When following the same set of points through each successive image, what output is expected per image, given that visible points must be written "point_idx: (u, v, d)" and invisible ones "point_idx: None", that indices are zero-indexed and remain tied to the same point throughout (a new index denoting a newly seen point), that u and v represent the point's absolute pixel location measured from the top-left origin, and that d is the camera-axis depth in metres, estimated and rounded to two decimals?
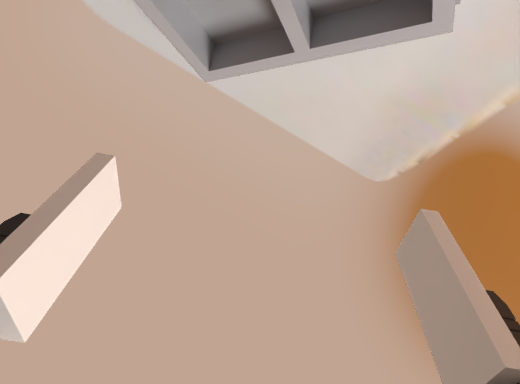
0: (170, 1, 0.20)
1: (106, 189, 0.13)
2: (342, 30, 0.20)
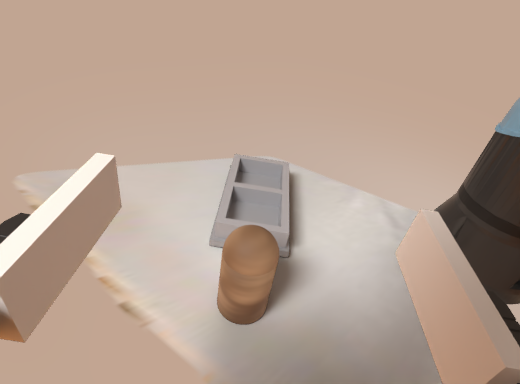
0: (269, 170, 0.51)
1: (106, 189, 0.13)
2: (230, 199, 0.43)
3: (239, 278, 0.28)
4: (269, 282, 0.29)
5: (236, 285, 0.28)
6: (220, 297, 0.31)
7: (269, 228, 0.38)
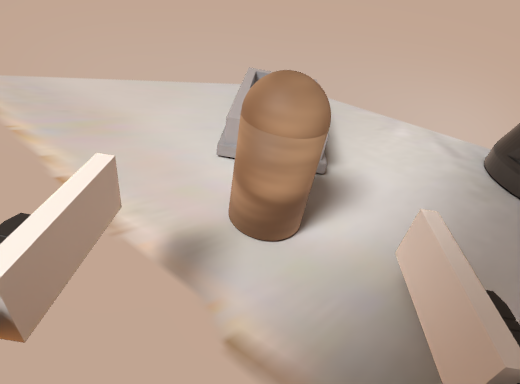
0: None
1: (106, 189, 0.13)
2: None
3: (269, 145, 0.17)
4: (314, 163, 0.18)
5: (262, 161, 0.18)
6: (234, 197, 0.20)
7: None
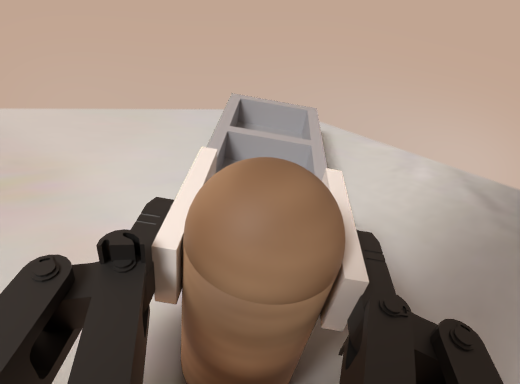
0: (285, 119, 0.33)
1: None
2: (222, 152, 0.24)
3: (230, 310, 0.09)
4: (315, 318, 0.10)
5: (220, 329, 0.10)
6: (184, 349, 0.12)
7: None
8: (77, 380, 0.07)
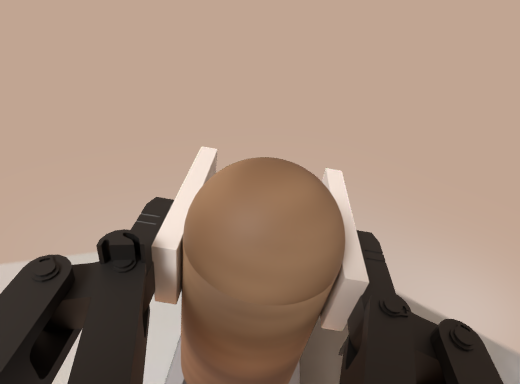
0: None
1: None
2: None
3: (229, 311, 0.09)
4: (315, 319, 0.10)
5: (220, 329, 0.10)
6: (184, 349, 0.12)
7: None
8: (77, 380, 0.07)
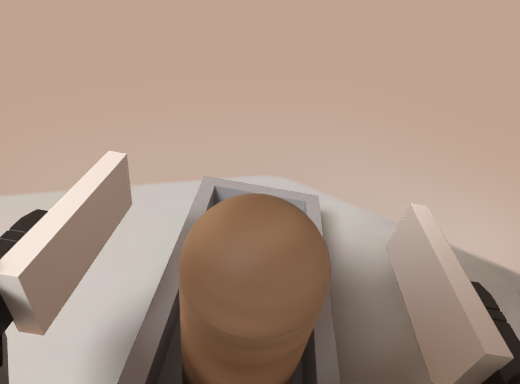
0: None
1: (118, 186, 0.13)
2: (175, 309, 0.16)
3: (222, 342, 0.10)
4: (304, 344, 0.11)
5: (214, 357, 0.10)
6: (184, 369, 0.13)
7: None
8: None
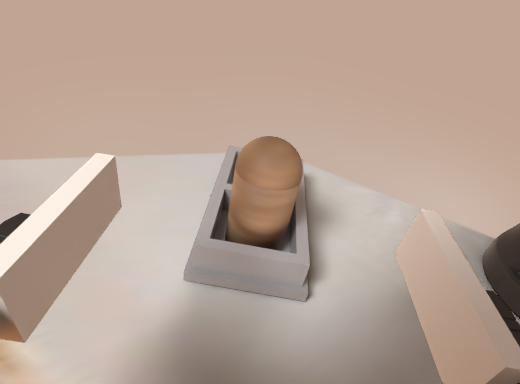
0: None
1: (106, 189, 0.13)
2: (220, 209, 0.29)
3: (256, 194, 0.23)
4: (290, 205, 0.24)
5: (251, 205, 0.23)
6: (230, 228, 0.26)
7: (278, 256, 0.24)
8: None
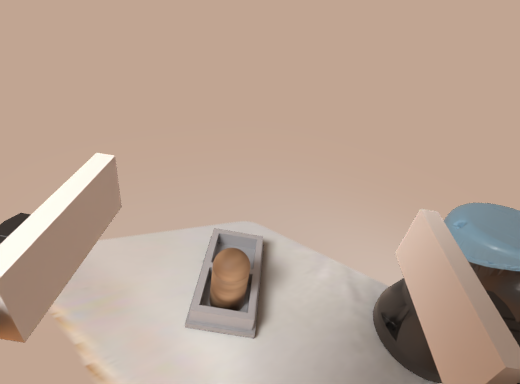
0: (245, 243, 0.57)
1: (106, 189, 0.13)
2: (206, 280, 0.48)
3: (223, 283, 0.42)
4: (243, 286, 0.44)
5: (221, 288, 0.43)
6: (211, 296, 0.46)
7: (237, 315, 0.44)
8: None
